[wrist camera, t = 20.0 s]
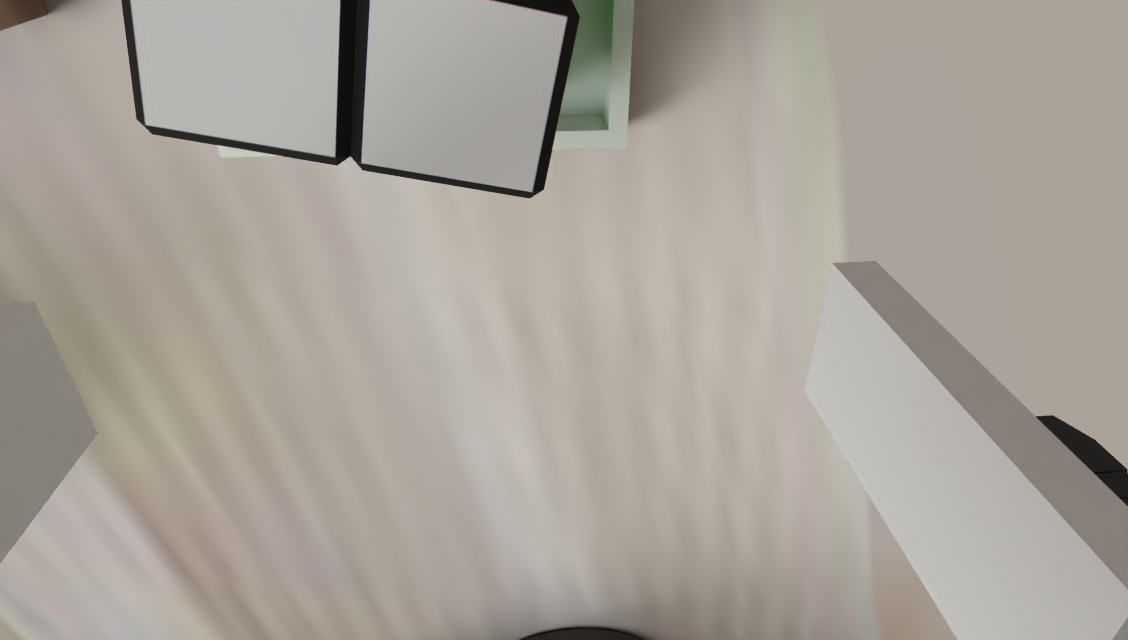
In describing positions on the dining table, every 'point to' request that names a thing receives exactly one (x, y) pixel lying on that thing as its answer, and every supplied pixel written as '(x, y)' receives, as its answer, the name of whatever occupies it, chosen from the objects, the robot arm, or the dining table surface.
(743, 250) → the dining table surface
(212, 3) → the puzzle cube
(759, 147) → the dining table surface
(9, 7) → the bored block
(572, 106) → the tray
